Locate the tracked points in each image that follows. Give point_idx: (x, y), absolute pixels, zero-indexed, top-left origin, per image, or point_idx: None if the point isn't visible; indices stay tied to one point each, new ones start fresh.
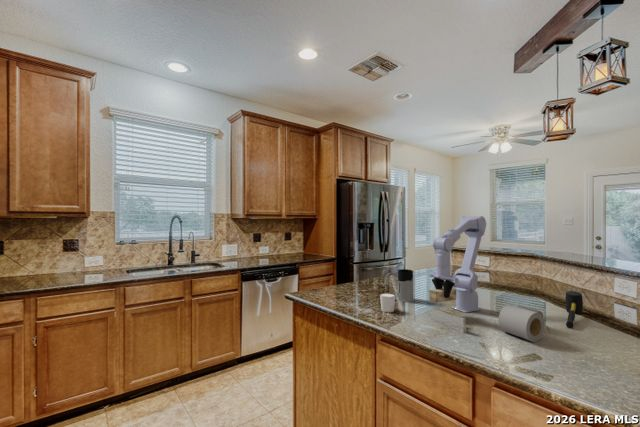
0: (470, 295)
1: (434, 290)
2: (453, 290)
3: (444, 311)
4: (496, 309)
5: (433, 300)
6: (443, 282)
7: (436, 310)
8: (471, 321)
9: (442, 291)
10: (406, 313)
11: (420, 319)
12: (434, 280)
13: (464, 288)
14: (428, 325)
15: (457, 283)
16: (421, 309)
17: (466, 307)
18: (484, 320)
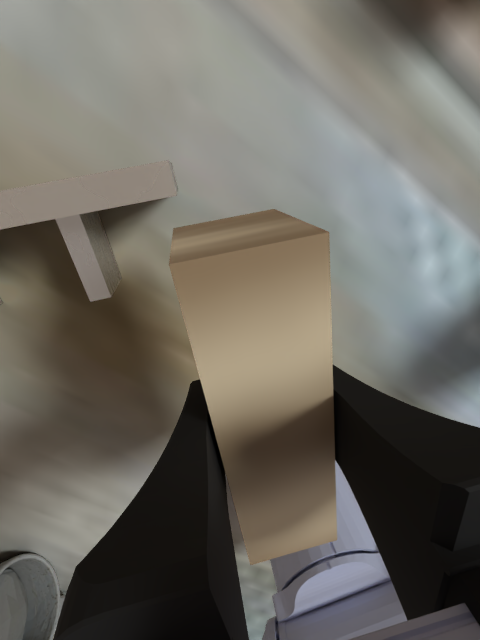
0: (273, 570)
1: (288, 315)
2: (242, 530)
3: (6, 220)
4: (245, 564)
5: (209, 224)
6: (140, 586)
7: (92, 174)
8: (97, 404)
9: (208, 403)
10: (375, 27)
11: (194, 56)
12: (465, 483)
13: (321, 607)
14: (17, 16)
15: (387, 626)
16: (394, 236)
17: None
18: (107, 467)
